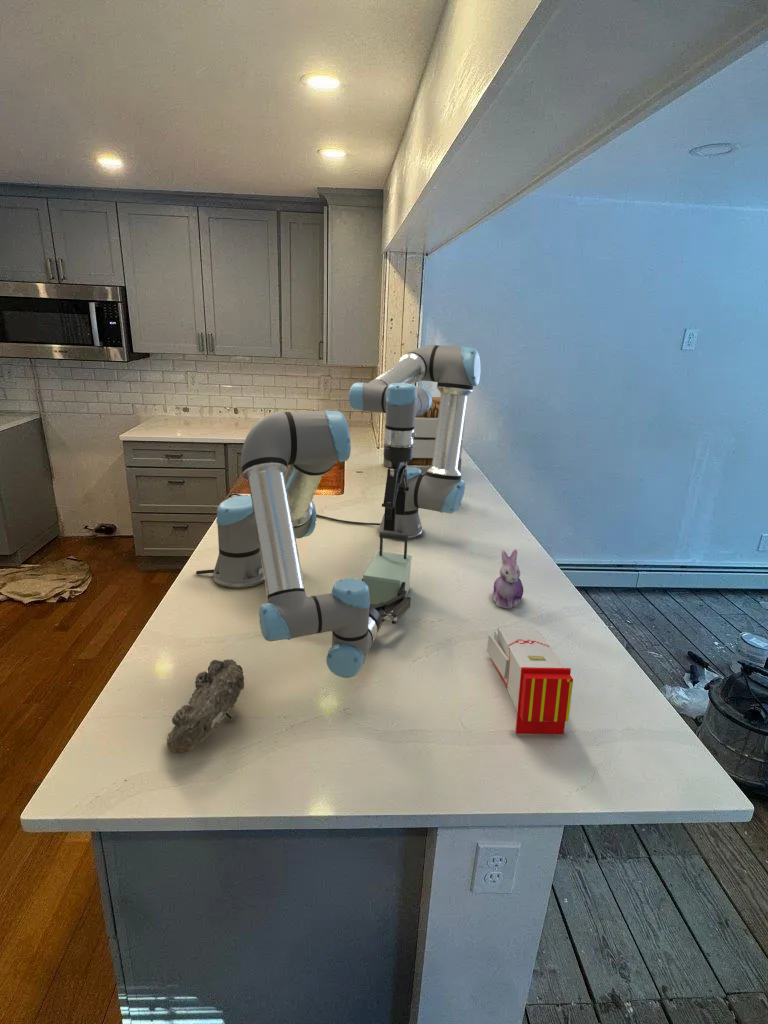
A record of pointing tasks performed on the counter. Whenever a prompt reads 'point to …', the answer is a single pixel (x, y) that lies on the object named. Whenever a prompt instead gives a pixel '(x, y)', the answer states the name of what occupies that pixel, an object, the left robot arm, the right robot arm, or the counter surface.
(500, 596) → the figurine
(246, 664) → the counter surface
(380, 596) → the chest
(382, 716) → the counter surface
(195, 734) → the fossil
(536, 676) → the toy
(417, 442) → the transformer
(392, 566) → the lid
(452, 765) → the counter surface
